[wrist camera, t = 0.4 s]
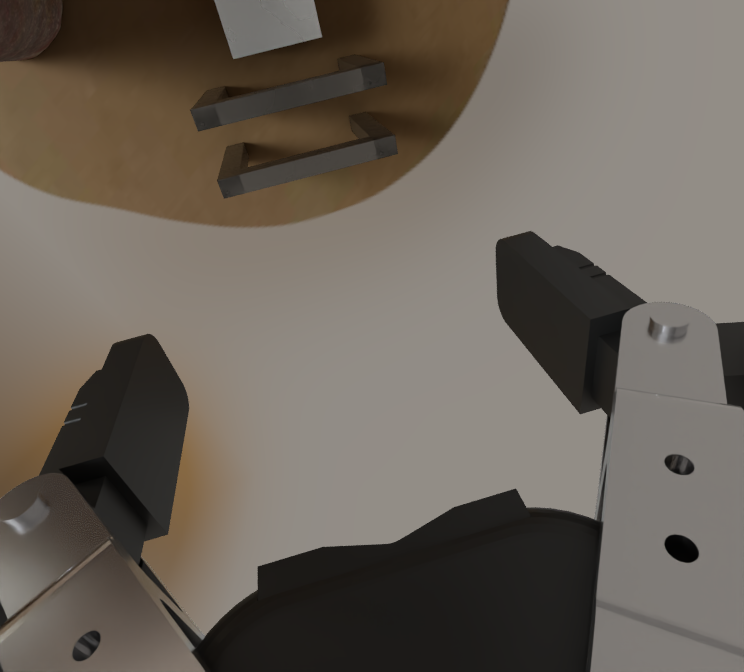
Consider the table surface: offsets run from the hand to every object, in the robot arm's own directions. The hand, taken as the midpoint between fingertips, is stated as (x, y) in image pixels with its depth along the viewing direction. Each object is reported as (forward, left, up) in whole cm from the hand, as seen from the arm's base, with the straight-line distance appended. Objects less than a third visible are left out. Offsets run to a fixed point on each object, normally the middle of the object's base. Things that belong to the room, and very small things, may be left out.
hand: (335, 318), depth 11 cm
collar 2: (+1, +1, -26) cm, 26 cm away
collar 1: (-3, +1, -26) cm, 26 cm away
